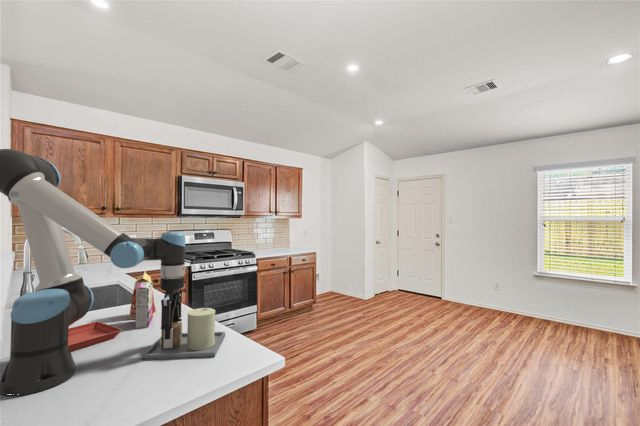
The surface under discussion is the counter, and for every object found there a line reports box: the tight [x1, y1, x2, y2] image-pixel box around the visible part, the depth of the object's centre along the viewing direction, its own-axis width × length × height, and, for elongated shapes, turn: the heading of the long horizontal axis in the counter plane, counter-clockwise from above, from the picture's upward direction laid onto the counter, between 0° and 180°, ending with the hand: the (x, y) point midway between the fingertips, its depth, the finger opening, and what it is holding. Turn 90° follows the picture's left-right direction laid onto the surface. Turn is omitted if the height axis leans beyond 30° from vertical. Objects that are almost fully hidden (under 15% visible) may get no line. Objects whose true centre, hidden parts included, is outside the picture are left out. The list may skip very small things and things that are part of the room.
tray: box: [141, 331, 226, 361], centre depth 106 cm, size 18×22×2 cm
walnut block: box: [160, 321, 183, 349], centre depth 105 cm, size 5×5×7 cm
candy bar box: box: [134, 281, 153, 329], centre depth 128 cm, size 11×5×16 cm, turn 22°
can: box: [186, 307, 216, 350], centre depth 106 cm, size 9×9×12 cm
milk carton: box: [128, 270, 157, 320], centre depth 138 cm, size 9×9×20 cm
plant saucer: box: [68, 321, 123, 353], centre depth 110 cm, size 18×18×3 cm
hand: (171, 344), depth 105 cm, fingers closed on walnut block, 5 cm apart
